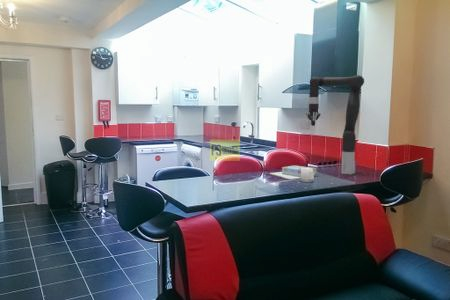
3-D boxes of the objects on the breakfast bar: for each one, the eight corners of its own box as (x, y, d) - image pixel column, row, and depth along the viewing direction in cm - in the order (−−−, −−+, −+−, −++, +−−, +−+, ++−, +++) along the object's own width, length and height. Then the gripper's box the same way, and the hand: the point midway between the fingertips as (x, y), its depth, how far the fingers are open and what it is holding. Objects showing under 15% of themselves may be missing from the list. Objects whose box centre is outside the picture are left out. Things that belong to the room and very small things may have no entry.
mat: (292, 171, 295) (292, 171, 295) (313, 177, 272) (313, 176, 272) (269, 173, 285) (269, 173, 285) (289, 179, 262) (289, 178, 262)
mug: (307, 179, 263) (307, 166, 262) (317, 182, 253) (317, 169, 252) (298, 180, 259) (298, 167, 258) (308, 183, 250) (308, 170, 249)
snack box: (293, 172, 291) (281, 173, 281) (294, 164, 291) (281, 166, 281) (316, 175, 276) (304, 177, 266) (317, 168, 275) (305, 169, 265)
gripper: (310, 103, 280) (309, 126, 282) (323, 103, 286) (322, 125, 288) (303, 103, 287) (303, 125, 289) (317, 103, 293) (316, 125, 294)
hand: (313, 125), depth 288 cm, fingers closed
